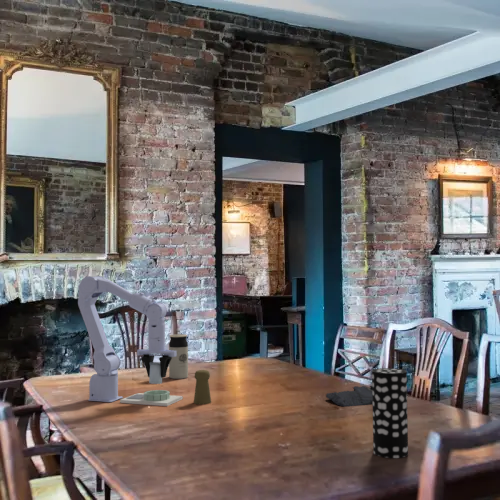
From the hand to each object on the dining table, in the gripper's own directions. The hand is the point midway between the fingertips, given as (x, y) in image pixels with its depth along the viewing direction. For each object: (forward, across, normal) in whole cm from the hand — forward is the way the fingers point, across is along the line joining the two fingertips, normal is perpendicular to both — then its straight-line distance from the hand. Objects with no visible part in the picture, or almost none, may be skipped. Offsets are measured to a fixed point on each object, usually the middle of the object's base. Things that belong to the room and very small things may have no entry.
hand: (156, 376), depth 211 cm
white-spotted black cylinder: (+9, +84, -36) cm, 92 cm away
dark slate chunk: (+9, +66, +22) cm, 71 cm away
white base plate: (+8, -2, 0) cm, 9 cm away
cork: (+9, +16, +3) cm, 18 cm away
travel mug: (+9, -14, +45) cm, 48 cm away
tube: (+2, 0, -1) cm, 2 cm away
